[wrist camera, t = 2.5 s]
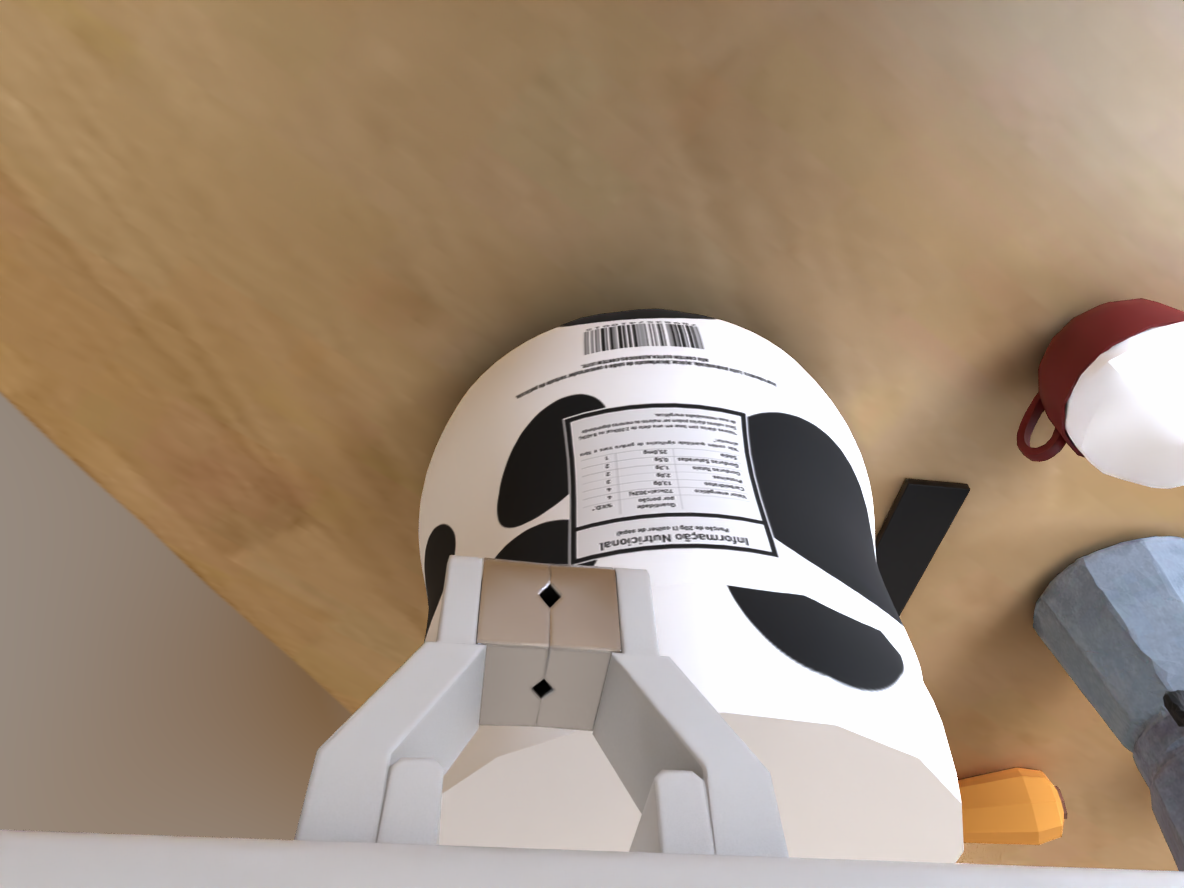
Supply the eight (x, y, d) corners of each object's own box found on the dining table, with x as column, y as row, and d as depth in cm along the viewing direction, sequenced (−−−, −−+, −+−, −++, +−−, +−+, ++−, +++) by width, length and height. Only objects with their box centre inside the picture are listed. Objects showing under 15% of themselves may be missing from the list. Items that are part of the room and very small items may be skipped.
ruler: (905, 478, 38) (908, 484, 38) (967, 483, 38) (971, 490, 38) (756, 781, 54) (757, 788, 53) (800, 783, 54) (802, 790, 54)
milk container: (607, 632, 44) (629, 1032, 30) (350, 439, 36) (212, 870, 21) (905, 466, 37) (1114, 878, 23) (676, 179, 29) (786, 555, 15)
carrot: (1045, 748, 54) (1069, 798, 49) (1054, 805, 55) (1079, 859, 51) (738, 781, 59) (736, 829, 55) (752, 833, 60) (752, 883, 56)
